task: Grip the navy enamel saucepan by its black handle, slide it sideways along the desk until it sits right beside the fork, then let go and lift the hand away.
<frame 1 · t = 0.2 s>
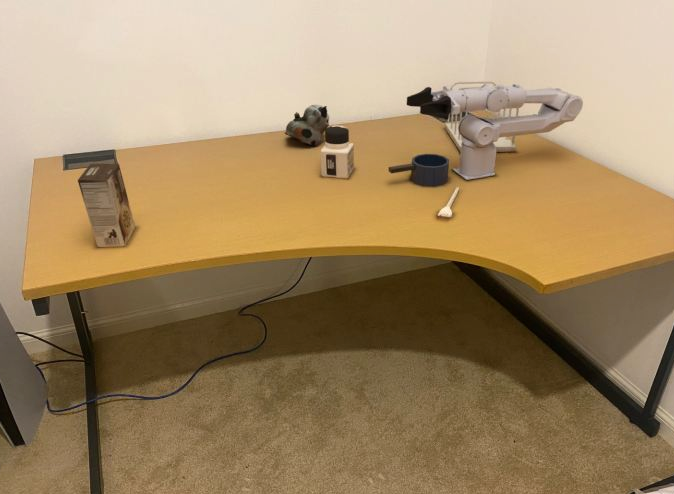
hand: (413, 105, 145), 21 cm above the table, tool horizontal, fingers open, 7 cm apart
lucky cat figurine: (307, 141, 185), on the table
coffee box: (117, 238, 131), on the table
container: (337, 173, 163), on the table
file sorter: (477, 140, 187), on the table
pot: (429, 179, 159), on the table
fork: (449, 206, 145), on the table
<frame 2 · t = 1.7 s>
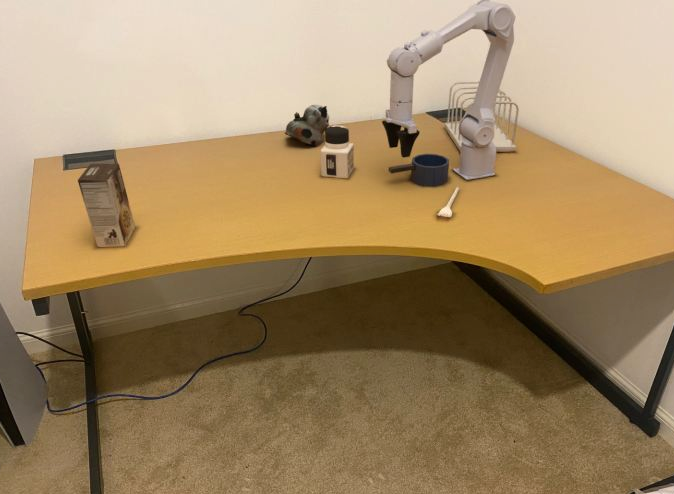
hand: (399, 151, 151), 9 cm above the table, tool pointing down, fingers open, 7 cm apart
nothing on the table moved.
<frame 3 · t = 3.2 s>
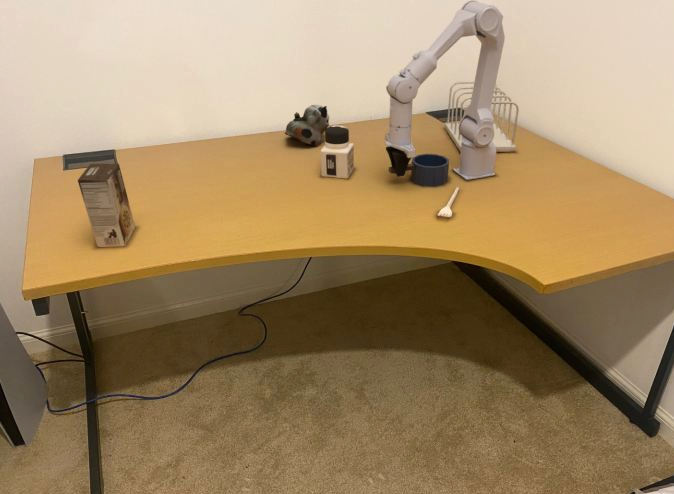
hand: (398, 174, 155), 3 cm above the table, tool pointing down, fingers closed on pot, 2 cm apart
pot: (429, 179, 159), on the table, touching gripper
everything else where it was.
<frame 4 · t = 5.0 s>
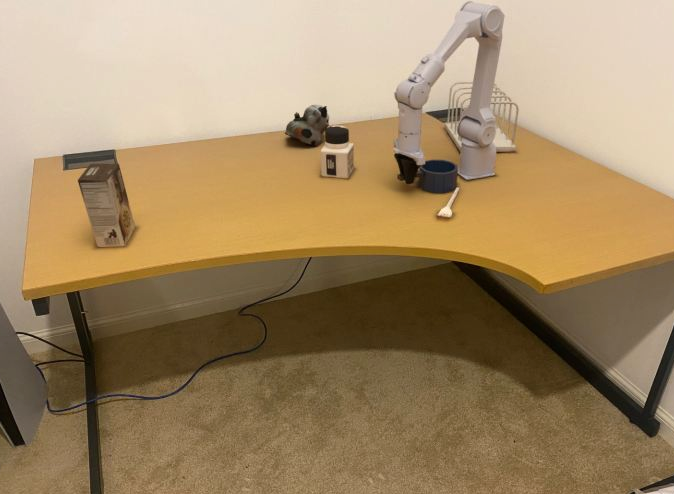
hand: (407, 181, 150), 3 cm above the table, tool pointing down, fingers closed on pot, 2 cm apart
pot: (437, 185, 156), on the table, touching gripper
everything else where it was.
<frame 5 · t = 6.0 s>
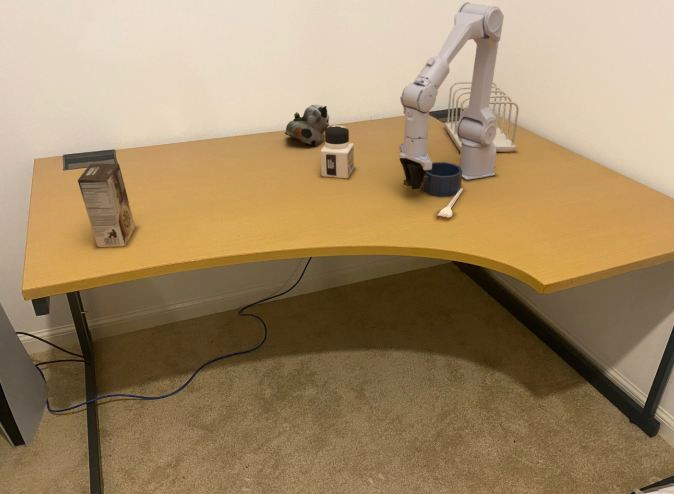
hand: (413, 186, 148), 3 cm above the table, tool pointing down, fingers closed on pot, 2 cm apart
pot: (441, 188, 154), on the table, touching fork, gripper
fork: (451, 206, 145), on the table, touching pot
everything else where it was.
when the fingers open (3 cm above the table, at t = 6.5 s): pot stays where it is, on the table.
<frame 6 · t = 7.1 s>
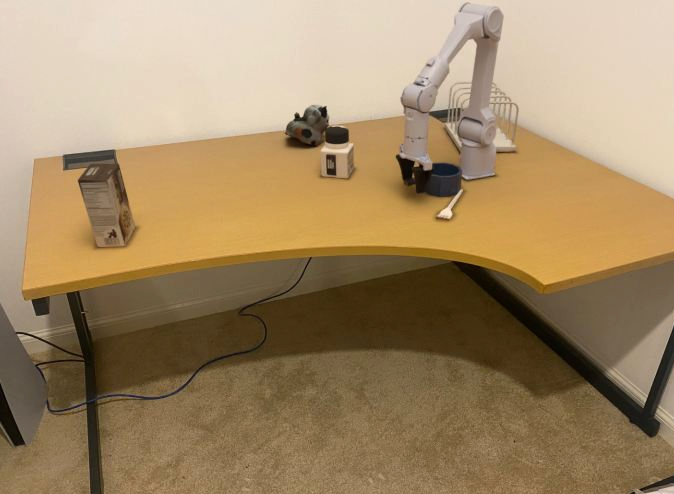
hand: (413, 186, 148), 3 cm above the table, tool pointing down, fingers open, 7 cm apart
pot: (441, 188, 154), on the table
fork: (451, 207, 145), on the table
everything else where it was.
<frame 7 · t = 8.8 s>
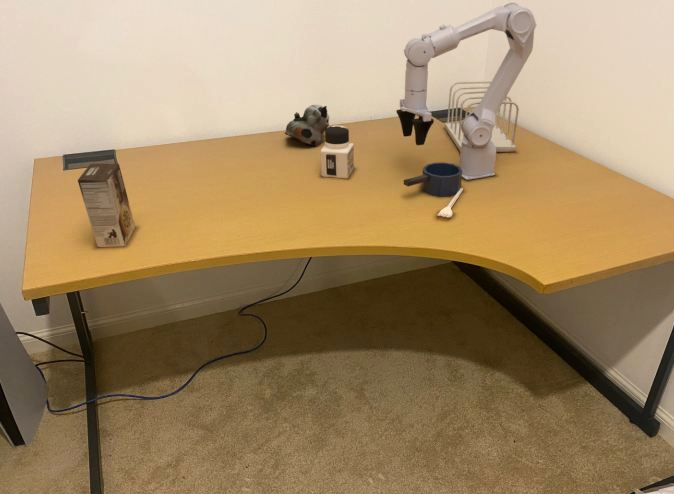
hand: (413, 140, 155), 10 cm above the table, tool pointing down, fingers open, 7 cm apart
nothing on the table moved.
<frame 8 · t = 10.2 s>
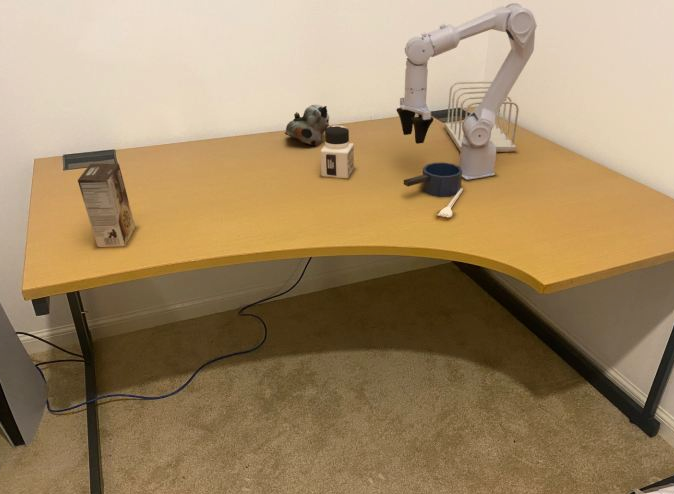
hand: (413, 138, 156), 10 cm above the table, tool pointing down, fingers open, 7 cm apart
nothing on the table moved.
at the end: pot 2.2 cm from the target spot on the table beside the fork, on the table; pot tilted 0°; the gripper is holding nothing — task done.
